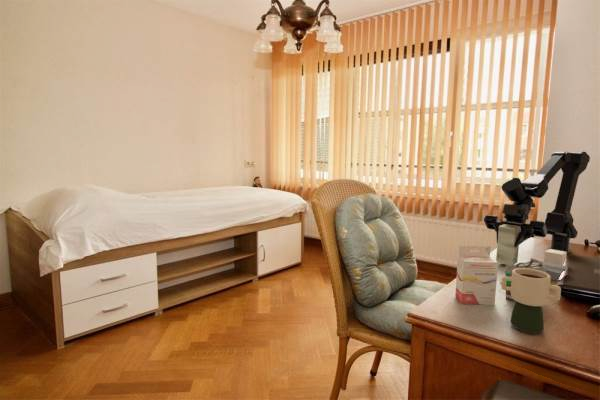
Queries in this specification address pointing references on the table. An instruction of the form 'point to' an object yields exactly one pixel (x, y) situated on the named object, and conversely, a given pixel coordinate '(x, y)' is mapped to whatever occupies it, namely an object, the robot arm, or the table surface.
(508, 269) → the food container
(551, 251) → the ivory cube
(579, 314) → the table surface
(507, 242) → the sage block
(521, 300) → the character mug
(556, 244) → the robot arm
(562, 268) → the slate slab
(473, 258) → the ink cartridge box
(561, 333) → the table surface
